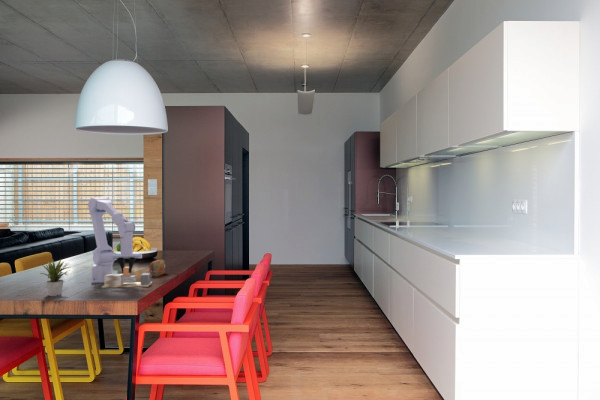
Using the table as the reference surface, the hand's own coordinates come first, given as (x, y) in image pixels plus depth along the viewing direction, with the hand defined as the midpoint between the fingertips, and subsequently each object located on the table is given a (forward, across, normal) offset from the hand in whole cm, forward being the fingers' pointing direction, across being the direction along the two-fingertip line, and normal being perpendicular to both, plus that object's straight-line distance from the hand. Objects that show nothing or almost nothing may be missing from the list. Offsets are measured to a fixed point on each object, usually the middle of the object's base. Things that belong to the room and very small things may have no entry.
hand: (126, 272), depth 237 cm
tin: (+6, +10, +30) cm, 32 cm away
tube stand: (+6, 0, 0) cm, 6 cm away
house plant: (+6, -26, -21) cm, 34 cm away
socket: (+6, +9, 0) cm, 11 cm away
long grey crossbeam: (+5, -3, 0) cm, 6 cm away
